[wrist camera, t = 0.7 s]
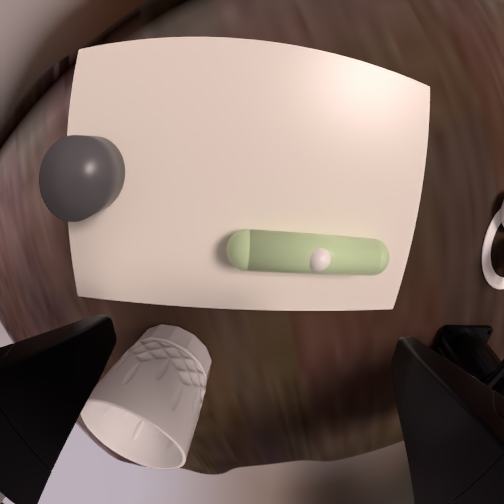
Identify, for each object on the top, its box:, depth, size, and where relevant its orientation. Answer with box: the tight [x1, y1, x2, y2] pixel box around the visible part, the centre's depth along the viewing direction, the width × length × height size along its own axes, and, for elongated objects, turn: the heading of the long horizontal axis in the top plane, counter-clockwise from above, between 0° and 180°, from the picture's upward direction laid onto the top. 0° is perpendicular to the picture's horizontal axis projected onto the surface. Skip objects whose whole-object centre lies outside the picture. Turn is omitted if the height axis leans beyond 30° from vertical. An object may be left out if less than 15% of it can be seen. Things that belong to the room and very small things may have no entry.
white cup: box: [80, 324, 212, 470], centre depth 19 cm, size 8×8×10 cm
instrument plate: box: [39, 37, 430, 311], centre depth 12 cm, size 18×13×3 cm
